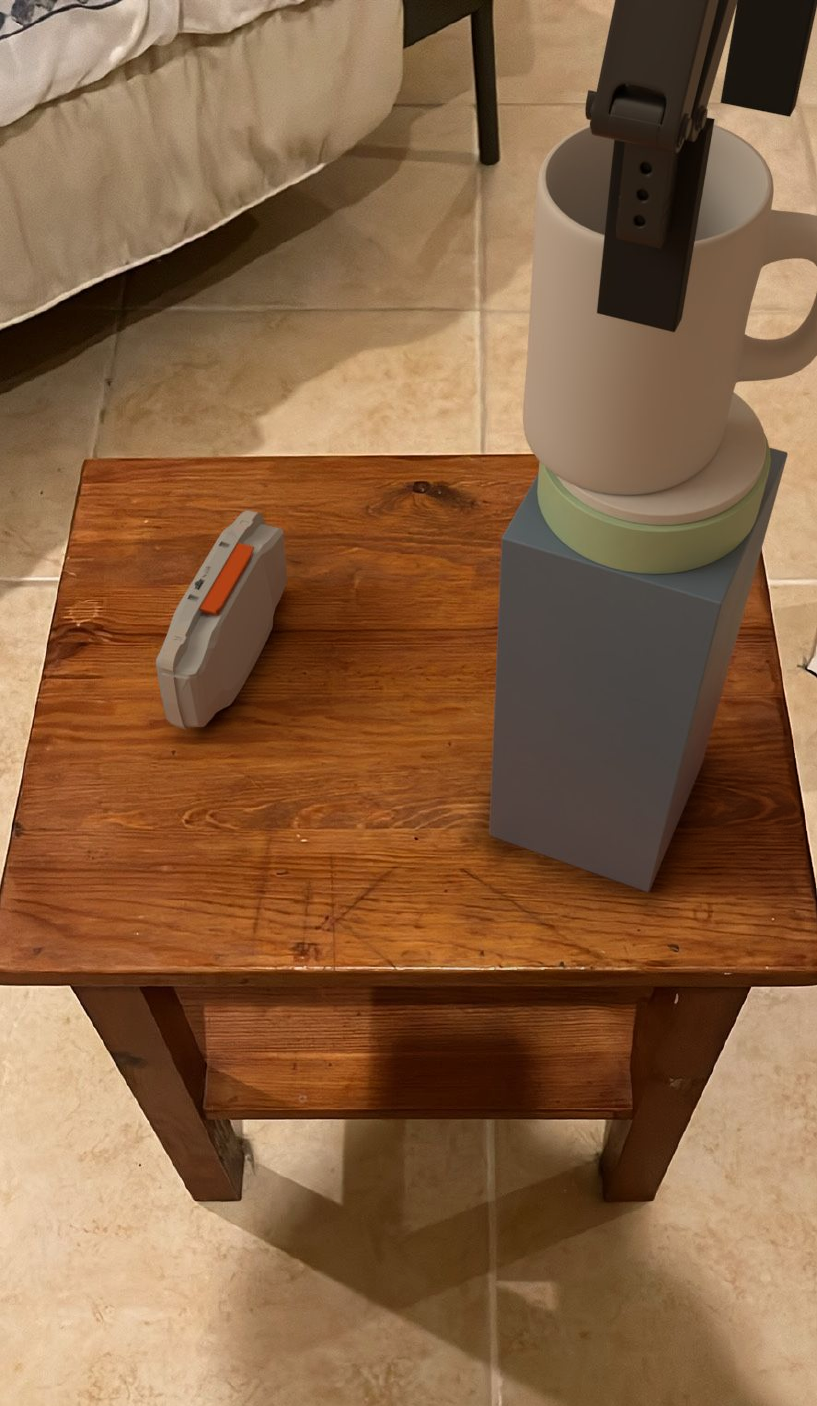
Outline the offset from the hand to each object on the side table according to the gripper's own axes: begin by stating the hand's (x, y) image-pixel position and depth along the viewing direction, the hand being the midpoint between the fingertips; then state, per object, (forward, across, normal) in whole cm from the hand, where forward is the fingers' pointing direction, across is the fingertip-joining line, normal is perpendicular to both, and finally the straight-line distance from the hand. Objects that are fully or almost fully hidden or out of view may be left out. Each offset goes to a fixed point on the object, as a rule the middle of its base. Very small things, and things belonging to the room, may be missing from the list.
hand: (702, 204), depth 46 cm
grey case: (+38, -1, -26) cm, 46 cm away
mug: (+11, -1, 0) cm, 11 cm away
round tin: (+14, 0, 0) cm, 14 cm away
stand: (+38, 0, 0) cm, 38 cm away
